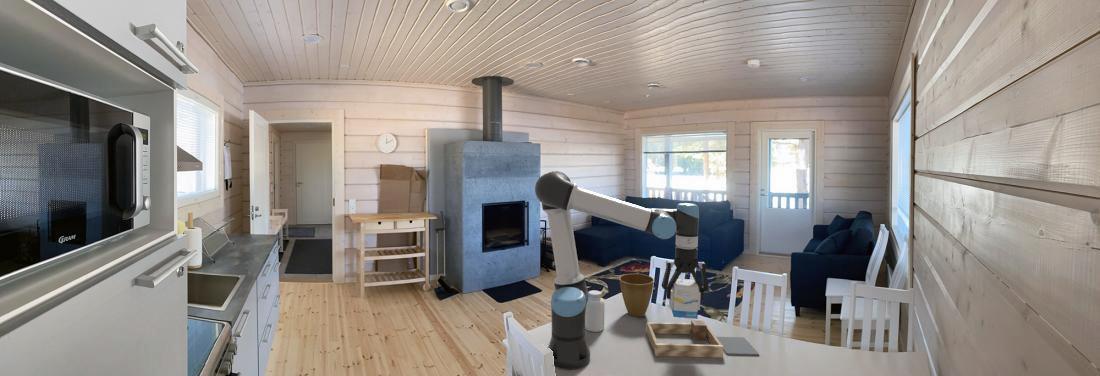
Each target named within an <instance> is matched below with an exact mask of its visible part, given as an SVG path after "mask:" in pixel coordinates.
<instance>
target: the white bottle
mask: <svg viewBox="0 0 1100 376" xmlns="http://www.w3.org/2000/svg"><path fill="white" fill-rule="evenodd" d="M588 293H589V298H588V302H587V307H586V313H585V331H588V332H592V333H593V332H594V333H598V332H602V331H603V330H605V300H604V299H603V298H602V295H603V294H602V291H599V290H594V289H593V290H588Z"/></svg>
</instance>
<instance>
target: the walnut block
mask: <svg viewBox="0 0 1100 376" xmlns="http://www.w3.org/2000/svg"><path fill="white" fill-rule="evenodd" d="M690 323H691V334H690V336H691V337H692V339H693V341H700V342H701V341H704V342H705V341H706V342H707V338H706V335H707V325H708V324H707V323H705V321H704V320H697V319H696V320H695V319H693V320H691V322H690ZM706 324H707V325H706Z"/></svg>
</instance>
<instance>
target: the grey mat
mask: <svg viewBox="0 0 1100 376" xmlns="http://www.w3.org/2000/svg"><path fill="white" fill-rule="evenodd" d="M716 337H717V339H718V340H719V341H720V343H721V344H722V345H723V353H725V354H726V355H727V356H753V357H755V356H756V357H757V356H758V357H759V356H760V353H759V352H758V351H757V350H756V349H755V347H753V346H752V344H751V343H750V342H749V341H748V340H747V339H746V338H745V337H742V336H739V337H738V336H716Z"/></svg>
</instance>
